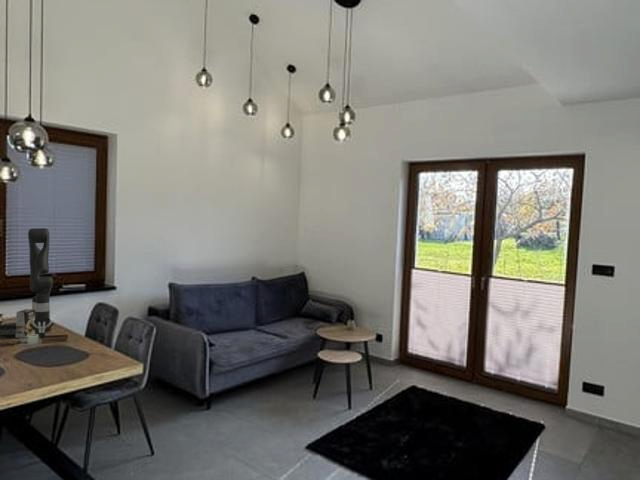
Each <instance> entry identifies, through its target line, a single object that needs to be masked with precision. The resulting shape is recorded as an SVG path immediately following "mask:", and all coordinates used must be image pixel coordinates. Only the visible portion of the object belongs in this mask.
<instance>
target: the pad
mask: <svg viewBox="0 0 640 480" xmlns="http://www.w3.org/2000/svg"><path fill="white" fill-rule="evenodd" d="M29 345H30V346H33V345H36V346H37V345H43V344H42V339H40V338H38V343H30V344H28V339H22V340H21V342H20V343H19V346H29Z"/></svg>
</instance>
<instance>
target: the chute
mask: <svg viewBox="0 0 640 480" xmlns="http://www.w3.org/2000/svg"><path fill="white" fill-rule="evenodd" d="M68 339H69V334H68V333H66V334H65V333H63V334H62V333H61V334H45V337H44V338H42V344H41V345H51V344H53V345H54V344H66V343H67V341H68Z"/></svg>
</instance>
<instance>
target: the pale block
mask: <svg viewBox="0 0 640 480" xmlns="http://www.w3.org/2000/svg"><path fill="white" fill-rule="evenodd" d="M38 339H39V333H35V334H33V335H28V337H27V340H28V344H30V343H38Z"/></svg>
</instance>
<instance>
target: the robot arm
mask: <svg viewBox="0 0 640 480" xmlns="http://www.w3.org/2000/svg"><path fill="white" fill-rule="evenodd" d="M27 238H28V246H29V269H30V271H29V272H30V275H29V276H30V278H29V290H30V291H31V292H36V294H35V296H32V299H31V309H33V310H35V320H34V322H33V323H31V324H30V326H31V327H32V328H33V329H34V331H35V333H38V339H42V338H44V337H45V335H46V332H48V331H49V330H50V329H51V328H52V327H54V324H55V322H54V321H52V320H51V319H50V317H51V316H50V315H51V312H50V311H51V305H50V297H51V296H50V294H51V291H52V288H53V284H54V279H53V277H52V276H43V275H47V274H48V273H49V272H50V269H49V268H50V267H49V252H50V232H49V229H48V228H46V227H45V228H44V227H43V228H41V227H40V228H39V227H37V228H35V227H34V228H30V229H28V233H27ZM37 244H42V245H43V246H42V248H41V249H40V248H39V247H38V246H37ZM48 325H49V326H48Z"/></svg>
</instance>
